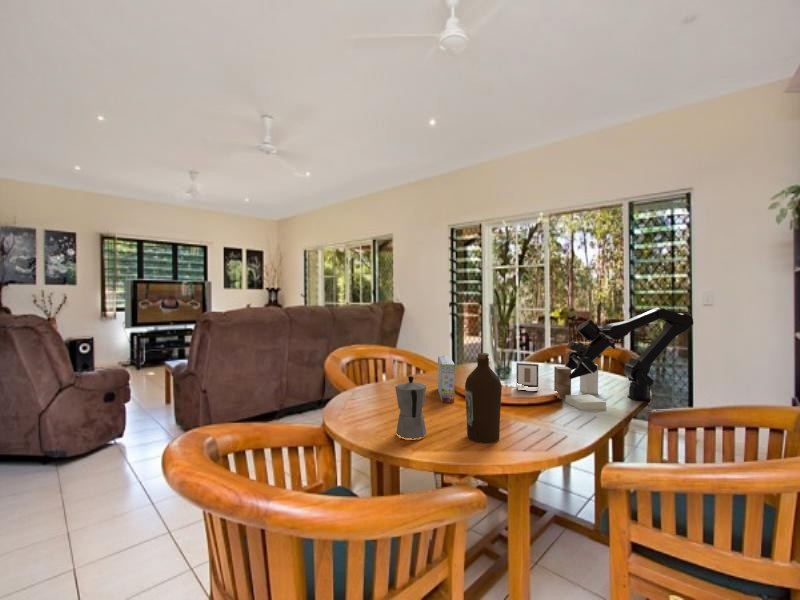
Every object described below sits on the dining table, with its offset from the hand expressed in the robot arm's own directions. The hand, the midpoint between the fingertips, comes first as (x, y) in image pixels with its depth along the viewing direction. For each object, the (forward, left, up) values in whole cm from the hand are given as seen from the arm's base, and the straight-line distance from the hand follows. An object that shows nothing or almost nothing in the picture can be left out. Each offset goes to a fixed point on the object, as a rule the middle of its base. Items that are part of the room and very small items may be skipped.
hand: (566, 375), depth 157 cm
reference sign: (+10, -13, -9) cm, 19 cm away
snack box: (+47, -9, -9) cm, 49 cm away
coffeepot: (+67, +34, -9) cm, 76 cm away
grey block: (-14, -6, -9) cm, 17 cm away
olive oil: (+46, +37, -9) cm, 60 cm away
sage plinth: (-2, +11, -9) cm, 14 cm away
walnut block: (+1, 0, -9) cm, 9 cm away
